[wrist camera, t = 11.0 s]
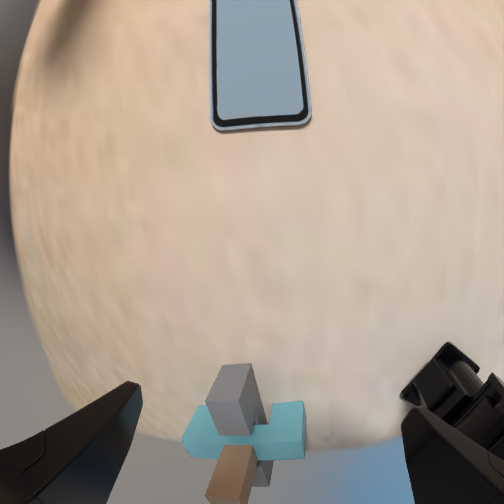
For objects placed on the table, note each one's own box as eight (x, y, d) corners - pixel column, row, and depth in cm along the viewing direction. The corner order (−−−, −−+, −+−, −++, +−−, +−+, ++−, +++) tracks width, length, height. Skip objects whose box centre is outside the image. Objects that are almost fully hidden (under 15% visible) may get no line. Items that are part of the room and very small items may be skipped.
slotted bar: (222, 365, 22) (204, 401, 18) (250, 363, 22) (238, 400, 17) (252, 451, 24) (243, 485, 19) (275, 450, 24) (269, 486, 19)
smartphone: (209, 131, 19) (209, -12, 16) (213, 134, 20) (212, -7, 17) (313, 124, 18) (292, -23, 14) (313, 127, 18) (293, -17, 15)
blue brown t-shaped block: (303, 400, 22) (297, 497, 12) (306, 419, 22) (300, 511, 12) (198, 405, 24) (156, 485, 14) (206, 422, 24) (169, 500, 14)
